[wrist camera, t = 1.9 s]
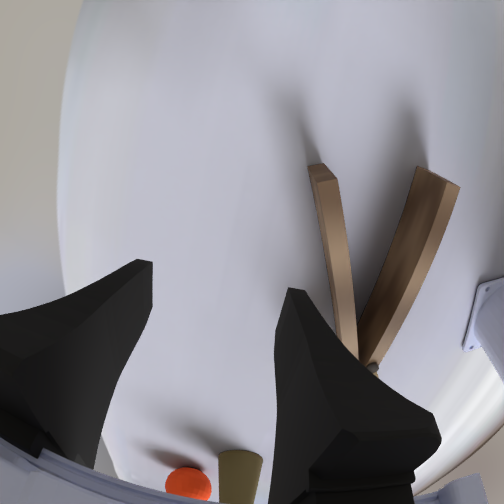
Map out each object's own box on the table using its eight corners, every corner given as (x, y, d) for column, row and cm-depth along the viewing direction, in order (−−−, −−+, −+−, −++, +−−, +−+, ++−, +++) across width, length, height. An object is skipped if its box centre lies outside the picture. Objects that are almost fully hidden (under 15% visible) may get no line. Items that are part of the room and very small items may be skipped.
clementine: (211, 481, 40) (206, 517, 34) (170, 473, 40) (162, 508, 34) (216, 465, 37) (210, 507, 30) (169, 456, 36) (159, 496, 30)
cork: (210, 458, 35) (199, 526, 26) (233, 445, 33) (224, 522, 23) (246, 470, 37) (241, 534, 27) (272, 458, 34) (269, 529, 25)
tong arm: (349, 338, 23) (359, 375, 20) (337, 341, 24) (345, 378, 20) (323, 163, 18) (337, 178, 14) (307, 166, 18) (317, 182, 14)
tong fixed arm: (346, 368, 25) (354, 406, 22) (336, 368, 25) (342, 406, 22) (429, 170, 17) (463, 188, 14) (416, 165, 17) (449, 183, 13)
